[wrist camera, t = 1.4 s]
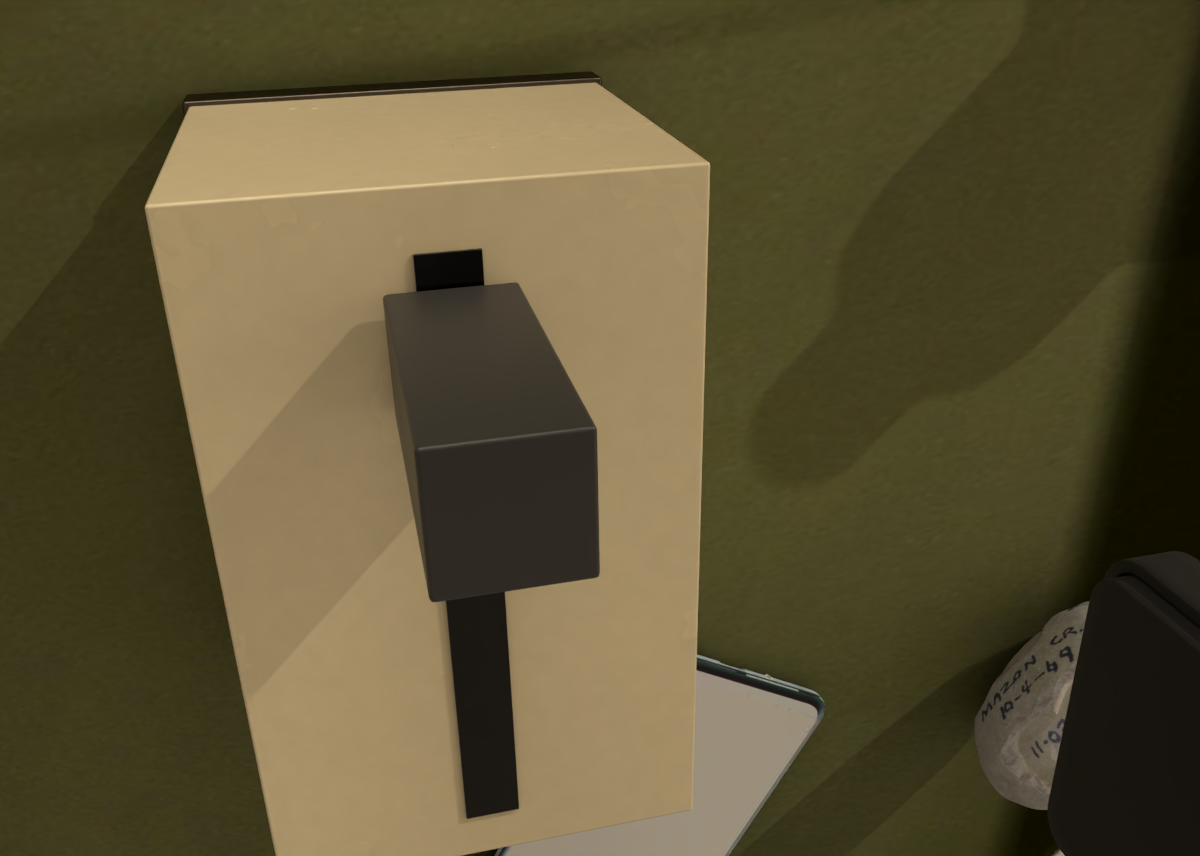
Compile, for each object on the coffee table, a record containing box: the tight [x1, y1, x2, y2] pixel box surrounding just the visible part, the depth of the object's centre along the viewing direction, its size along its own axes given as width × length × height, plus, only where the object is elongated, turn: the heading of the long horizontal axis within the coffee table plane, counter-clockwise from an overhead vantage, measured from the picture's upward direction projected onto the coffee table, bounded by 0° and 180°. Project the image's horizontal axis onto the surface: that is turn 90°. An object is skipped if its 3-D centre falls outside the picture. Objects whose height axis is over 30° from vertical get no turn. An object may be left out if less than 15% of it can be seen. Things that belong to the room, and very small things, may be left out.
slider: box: [383, 282, 600, 602], centre depth 15 cm, size 2×2×5 cm
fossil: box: [974, 601, 1089, 810], centre depth 32 cm, size 6×3×5 cm, turn 150°
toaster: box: [145, 72, 710, 856], centre depth 22 cm, size 13×8×8 cm, turn 1°
